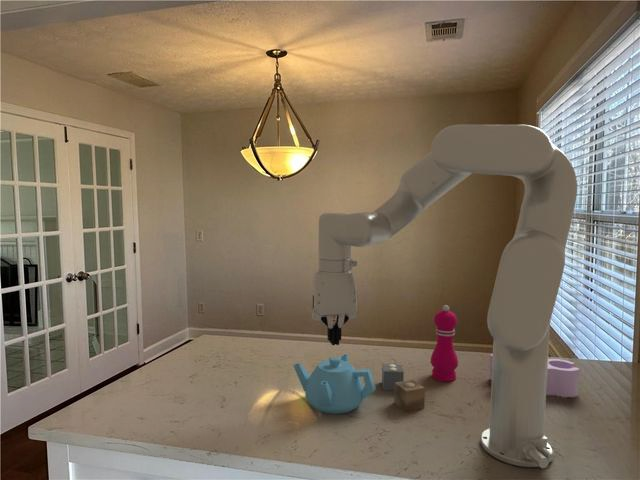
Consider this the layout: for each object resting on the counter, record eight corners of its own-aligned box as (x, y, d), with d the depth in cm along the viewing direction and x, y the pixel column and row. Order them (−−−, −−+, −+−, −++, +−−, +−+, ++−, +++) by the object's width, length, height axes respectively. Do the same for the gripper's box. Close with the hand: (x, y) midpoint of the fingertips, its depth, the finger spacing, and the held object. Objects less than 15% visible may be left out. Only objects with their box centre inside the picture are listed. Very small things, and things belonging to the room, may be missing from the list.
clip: (567, 382, 116) (568, 357, 115) (584, 403, 103) (585, 375, 103) (487, 375, 120) (488, 351, 120) (494, 394, 108) (495, 367, 108)
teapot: (319, 424, 93) (319, 375, 92) (292, 396, 106) (292, 353, 105) (378, 409, 100) (379, 364, 99) (346, 385, 113) (346, 344, 112)
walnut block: (424, 408, 100) (424, 387, 100) (405, 412, 98) (406, 390, 98) (412, 399, 105) (412, 379, 104) (394, 402, 103) (394, 381, 103)
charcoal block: (403, 391, 110) (403, 371, 109) (383, 390, 110) (383, 370, 110) (400, 382, 115) (401, 364, 114) (381, 382, 115) (382, 363, 115)
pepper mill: (454, 372, 122) (456, 302, 120) (460, 383, 114) (462, 308, 113) (428, 371, 122) (430, 301, 121) (432, 381, 115) (434, 307, 114)
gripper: (361, 263, 106) (360, 337, 107) (300, 264, 103) (300, 340, 104) (370, 267, 98) (369, 346, 100) (305, 269, 95) (305, 350, 97)
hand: (334, 343), depth 102 cm, fingers closed
